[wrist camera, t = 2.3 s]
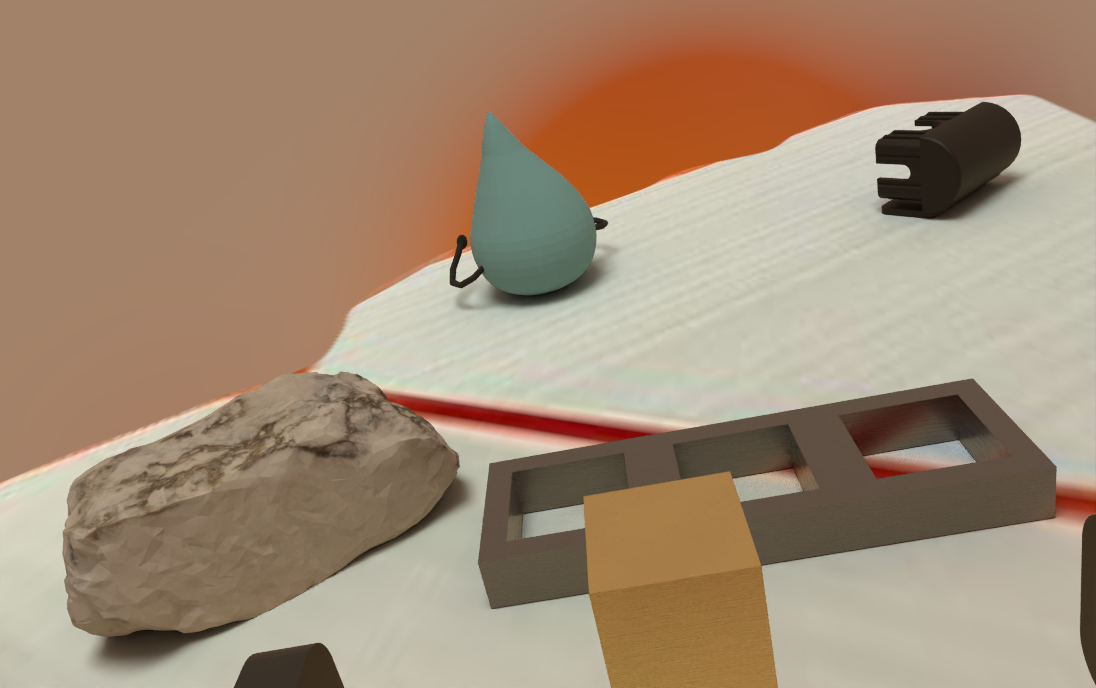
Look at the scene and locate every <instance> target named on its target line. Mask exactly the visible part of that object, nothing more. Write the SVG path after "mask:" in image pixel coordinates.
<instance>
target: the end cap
mask: <svg viewBox="0 0 1096 688" xmlns="http://www.w3.org/2000/svg"><path fill="white" fill-rule="evenodd" d="M915 126H932V129H928V130H921V131H913V130H894V131H893V132H892V133H890V134H888V135H885V136H884V137H883V138H881V139H879V140H878V141H877V143H876V147H875V151H876V163H879V164H900V165H906V166H907V167H908V168H909V169H910V172H911V175H910V177H909V179H898V178H881V177H880V178H878V179H877V185H878V195H879V197H880V198H888V199H892V200H891V201H889V202H887V203H886V204H884V205H882V213H883V214H885V215H895V216H905V217H916V218H932V217H935V216H936V215H938V214H940V213H941V212H943V211H944V210H946V209H947V208H949V207H950V206H952V205H953V204H955V203H957V202H958V201H960V200H961V199H963V198H964V197H966V196H967V195H969V194H970V193H972V192H974V191H975V190H977V189H978V188H980V187H981V186H983V185H984V184H986V183H987V182H989V181H991V180H992V179H994V178H995V177H997V176H998V175H999V174H1000V173H1001V172H1002V171H1003V170H1005V169H1006V168H1007V167H1009V166H1010V165H1011V164H1012V163H1013V161H1014V160H1015V159H1016V157H1017V155H1018V153H1019V150H1020V146H1021V133H1020V129H1019V126H1018V124H1017V122H1016V120H1015V118H1014V117H1013V116H1012V115H1011V114H1010V113H1009V112H1008V111H1007V110H1006V109H1004V108H1003V107H1001V106H999V105H997V104H993V103H989V102H981V103H980V104H978V105H976V106H974V107H972V108H970V109H969V110H967V111H965V112H928V113H927V114H926V115H924V116H921V117H919V118H918V119H917V120H915Z"/></svg>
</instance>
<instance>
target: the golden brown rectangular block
mask: <svg viewBox="0 0 1096 688" xmlns="http://www.w3.org/2000/svg"><path fill="white" fill-rule="evenodd" d="M583 497H584V514H585V532H586V549H587V567H588V585H589V596H590V600H591V604H592V609H593V613H594V617H595V621H596V626H597V630H598V634H599V638H600V643H601V647H602V651H603V655H604V660H605V664H606V668H607V672H608V677H609V681H610V685H611V688H778V685H777V678H776V670H775V663H774V655H773V648H772V641H771V633H770V626H769V619H768V611H767V604H766V596H765V589H764V582H763V574H762V567H761V563H760V560H759V557H758V554H757V551H756V548H755V545H754V542H753V539H752V536H751V533H750V530H749V527H748V524H747V521H746V518H745V515H744V512H743V509H742V506H741V503H740V500H739V497H738V494H737V491H736V488H735V485H734V482H733V479H732V476H731V473H730V471H729V472H723V473H717V474H712V475H706V476H700V477H694V478H688V479H682V480H677V481H671V482H665V483H659V484H653V485H647V486H642V487H636V488H630V489H624V490H618V491H612V492H607V493H601V494H595V495H589V496H583Z"/></svg>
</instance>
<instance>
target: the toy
mask: <svg viewBox="0 0 1096 688" xmlns="http://www.w3.org/2000/svg"><path fill="white" fill-rule="evenodd" d="M595 223H596V224H595ZM607 225H608V222H607V221H606V220H603V219H600V218H594V217H593V216H592V213H591V211H590V209H589V207H588V205H587V203H586V202H585V200H584V199H583V197H582V196H581V195H580V194H579V192H578V191H577V190H576V189H575V188H574V187H573V186H572V184H571V183H570V182H569V181H568V180H566V179H565V178H564V177H563V176H562V175H561V174H560V173H559V172H557V171H556V170H554V169H553V168H552V167H550V166H549V165H548V164H547V163H545V162H544V161H542V160H541V159H540V158H539V157H537V156H536V155H534V154H533V153H532V152H531V151H530V150H528V149H527V148H526V147H524V146H523V145H522V144H521V143H520V142H519V141H518V140H517V139H516V138H515V136H513V135H512V134H511V133H510V132H509V131H508V130H507V128H506V127H505V126H504V125H503V124H502V123H501V122H500V121H499V120H498V119H497V118H496V117H495V116H494V115H493V114H492V113H491V112H490V111H488V115H487V118H486V121H485V126H484V133H483V143H482V160H481V166H480V173H479V179H478V185H477V190H476V197H475V204H474V212H473V218H472V226H471V235H470V239H471V249H472V254H473V257H474V260H475V262H476V264H477V266H478V268H479V269H478V270H477V271H476V272H475V273H474V274H473V275H472V276H470V277H468V278H467V279H465V280H463V281H462V282H458V281H456V280H455V279H456V268H457V265H458V263H459V260H460V257H461V253H462V249H464V248H465V247H466V246H467V238H466V237H465V236H464V235H460V236H459V237H458V238H457V249H456V253H455V256H454V259H453V262H452V265H451V268H450V285H452V286H455V287H458V288H463V287H465V286H467V285H468V284H470V283H472V282H473V281H475V280H476V279H477V278H478V277H479V276H480V275H481V274H483V276H484V277H485V278H486V279H487V280H488V281H489V282H490V283H491V284H492V285H494V286H495V287H497V288H498V289H500V290H502V291H505V292H508V293H511V294H517V295H537V294H543V293H548V292H551V291H555V290H558V289H560V288H562V287H565V286H567V285H568V284H570V283H572V282H573V281H575V280H576V279H577V278H579V277H580V276H581V275H582V274H583V273H584V272H585V271H586V269H587V268H588V266H589V265H590V263H591V261H592V258H593V256H594V252H595V247H596V230H600V229H604V228H605V227H606V226H607Z"/></svg>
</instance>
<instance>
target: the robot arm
mask: <svg viewBox="0 0 1096 688" xmlns="http://www.w3.org/2000/svg"><path fill="white" fill-rule="evenodd" d="M1080 637H1081V644H1082V649H1083V653H1084V657H1085V660H1086V663H1087V666H1088V669H1089V671H1090V674H1091V676H1092V678H1093V680H1094V682H1095V684H1096V514H1095V515H1091V516H1089V517H1088V518H1087V519H1086V521H1085V523H1084V526H1083V533H1082V568H1081V613H1080ZM234 688H344V686H343V683H342V681H341V678H340V676H339V673H338V671H337V668H336V666H335V663H334V661H333V658H332V656H331V654H330V652H329V651H328V649H327V648H326V647H325V646H324V645H323V644H321V643H315V644H309V645H303V646H297V647H291V648H285V649H279V650H273V651H267V652H261V653H256V654H253V655H251V656H250V657H249V658H248V659H247V660H246V662H245V664H244V666H243V668H242V670H241V672H240V675H239V677H238V679H237V682H236V684H235V686H234Z"/></svg>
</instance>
